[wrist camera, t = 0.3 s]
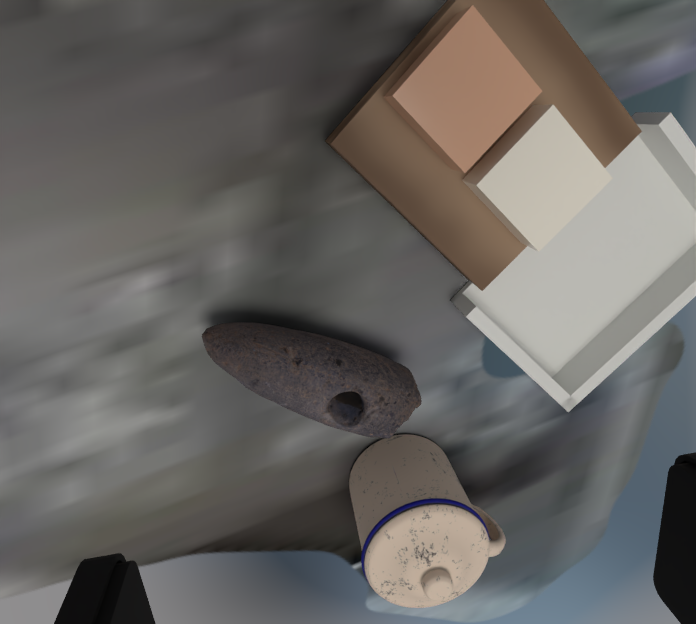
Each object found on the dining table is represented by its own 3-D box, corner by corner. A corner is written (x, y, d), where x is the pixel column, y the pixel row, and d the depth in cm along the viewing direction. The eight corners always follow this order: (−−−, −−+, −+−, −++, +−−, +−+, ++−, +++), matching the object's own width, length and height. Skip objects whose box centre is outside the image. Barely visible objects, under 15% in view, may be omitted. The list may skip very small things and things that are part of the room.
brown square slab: (479, -37, 32) (503, -54, 29) (609, 129, 37) (641, 131, 34) (324, 140, 35) (330, 143, 31) (464, 276, 39) (482, 291, 36)
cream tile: (532, 105, 32) (553, 104, 30) (589, 173, 34) (612, 178, 32) (461, 180, 33) (476, 185, 31) (521, 242, 35) (538, 252, 33)
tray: (635, 112, 37) (670, 112, 34) (720, 227, 41) (759, 237, 38) (449, 300, 40) (466, 316, 37) (546, 389, 44) (568, 412, 41)
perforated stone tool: (195, 348, 39) (180, 395, 32) (220, 283, 37) (210, 319, 31) (379, 409, 42) (399, 462, 36) (408, 353, 41) (434, 398, 35)
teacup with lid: (331, 509, 45) (350, 635, 34) (366, 419, 42) (399, 523, 32) (457, 532, 48) (511, 655, 37) (498, 448, 45) (569, 554, 34)
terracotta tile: (457, 13, 30) (472, 4, 28) (522, 92, 32) (542, 91, 30) (383, 97, 31) (392, 95, 29) (451, 169, 33) (465, 173, 31)
